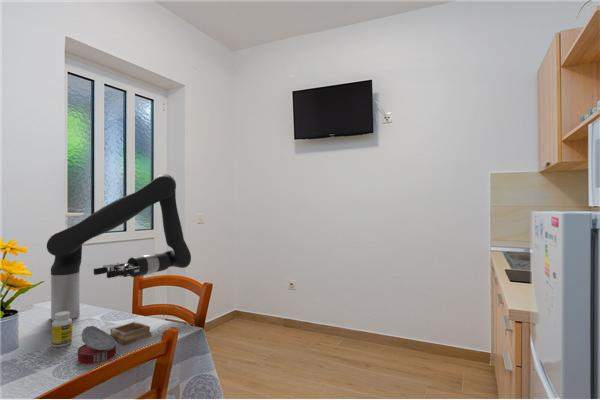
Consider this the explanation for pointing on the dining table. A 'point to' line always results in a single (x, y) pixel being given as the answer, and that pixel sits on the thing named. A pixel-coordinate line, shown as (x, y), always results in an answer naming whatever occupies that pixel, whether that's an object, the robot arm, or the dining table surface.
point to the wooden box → (130, 332)
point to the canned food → (96, 346)
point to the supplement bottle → (62, 329)
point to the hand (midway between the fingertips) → (100, 273)
